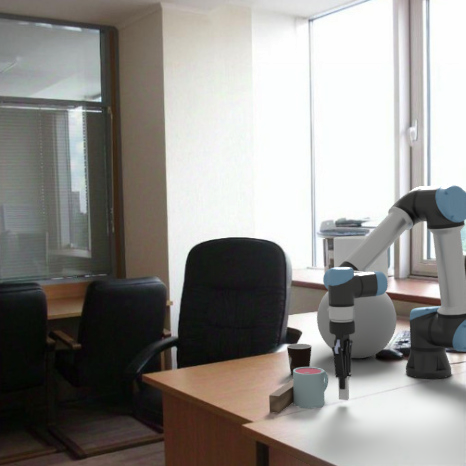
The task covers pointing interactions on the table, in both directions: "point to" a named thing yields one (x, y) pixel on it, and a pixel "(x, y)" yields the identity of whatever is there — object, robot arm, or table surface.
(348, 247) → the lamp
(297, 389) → the mug
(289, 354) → the coffee mug
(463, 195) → the robot arm
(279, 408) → the batten
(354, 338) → the sphere
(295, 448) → the table surface
